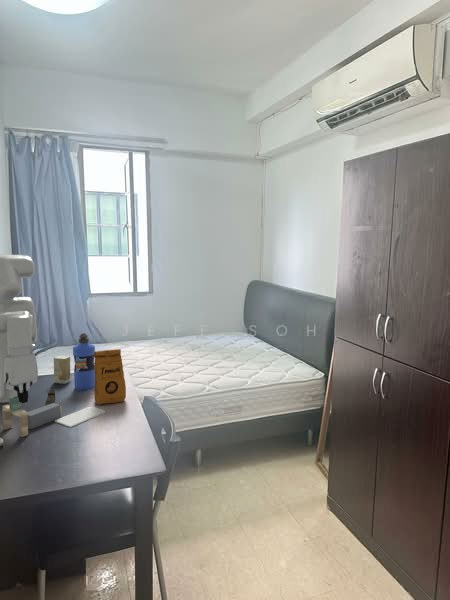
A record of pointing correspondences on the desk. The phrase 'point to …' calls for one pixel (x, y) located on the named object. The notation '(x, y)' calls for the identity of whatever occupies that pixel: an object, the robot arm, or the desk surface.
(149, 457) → the desk surface
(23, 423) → the wooden arch block
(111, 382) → the coffee package
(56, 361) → the skincare box
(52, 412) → the grey block with cap
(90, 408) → the mat
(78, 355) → the blue bottle
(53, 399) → the hand tool
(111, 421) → the desk surface
